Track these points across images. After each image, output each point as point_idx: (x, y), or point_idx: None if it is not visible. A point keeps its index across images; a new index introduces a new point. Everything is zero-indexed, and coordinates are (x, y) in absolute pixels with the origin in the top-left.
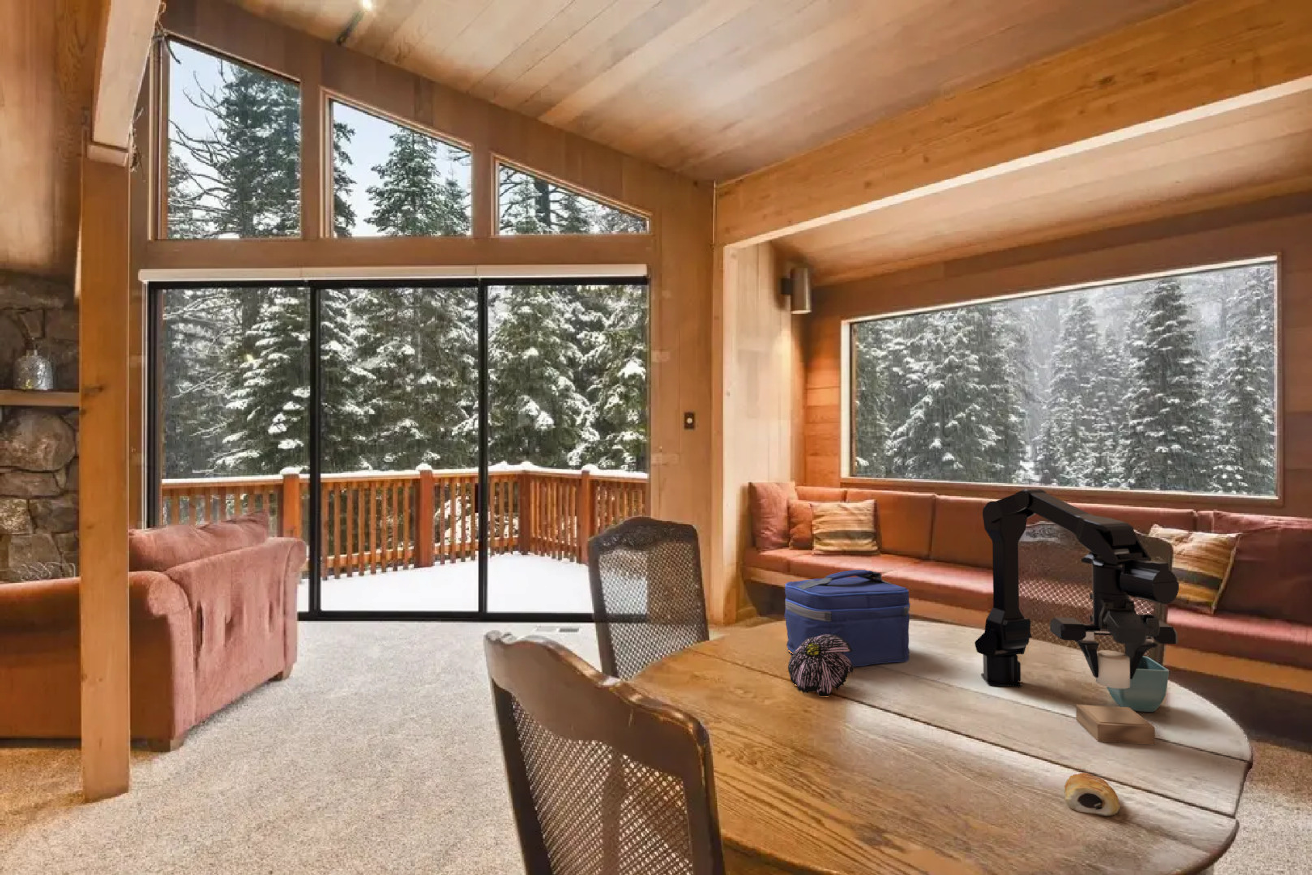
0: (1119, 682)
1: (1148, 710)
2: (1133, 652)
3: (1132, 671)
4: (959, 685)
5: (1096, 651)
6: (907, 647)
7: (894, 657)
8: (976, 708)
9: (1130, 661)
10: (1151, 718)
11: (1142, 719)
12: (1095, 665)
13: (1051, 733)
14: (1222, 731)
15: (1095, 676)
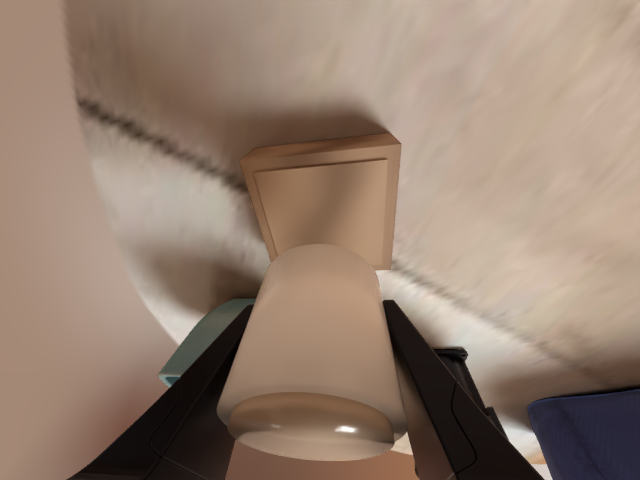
0: (311, 261)
1: (239, 299)
2: (173, 460)
3: (235, 331)
4: (521, 346)
5: (463, 477)
6: (555, 426)
7: (583, 405)
8: (578, 266)
9: (223, 386)
10: (240, 277)
11: (261, 211)
12: (417, 350)
13: (491, 158)
14: (131, 248)
15: (395, 302)
